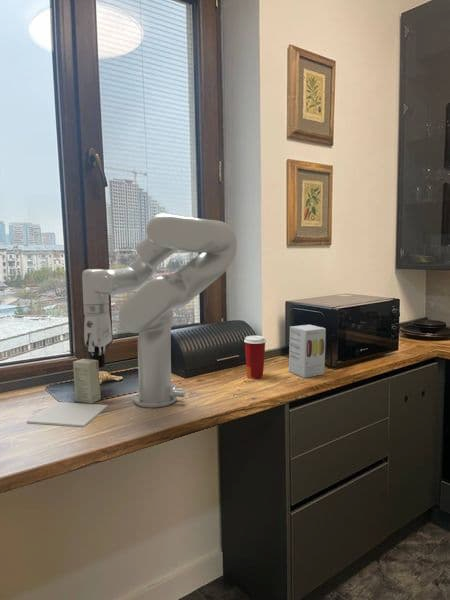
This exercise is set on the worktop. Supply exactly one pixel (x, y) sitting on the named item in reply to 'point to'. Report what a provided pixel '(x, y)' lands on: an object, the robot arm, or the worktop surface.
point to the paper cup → (255, 356)
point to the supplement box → (307, 350)
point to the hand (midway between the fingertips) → (99, 366)
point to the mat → (68, 414)
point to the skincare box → (86, 380)
